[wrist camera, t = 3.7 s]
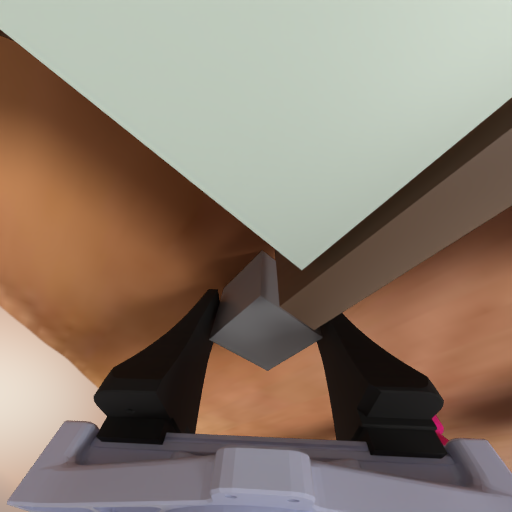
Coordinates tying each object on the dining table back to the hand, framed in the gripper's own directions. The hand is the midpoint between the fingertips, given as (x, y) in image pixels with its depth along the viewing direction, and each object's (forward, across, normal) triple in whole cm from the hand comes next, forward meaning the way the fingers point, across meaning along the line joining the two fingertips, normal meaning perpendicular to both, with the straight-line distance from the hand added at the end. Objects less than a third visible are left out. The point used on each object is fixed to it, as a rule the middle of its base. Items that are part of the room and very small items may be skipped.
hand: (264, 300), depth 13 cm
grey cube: (+2, 0, 0) cm, 2 cm away
